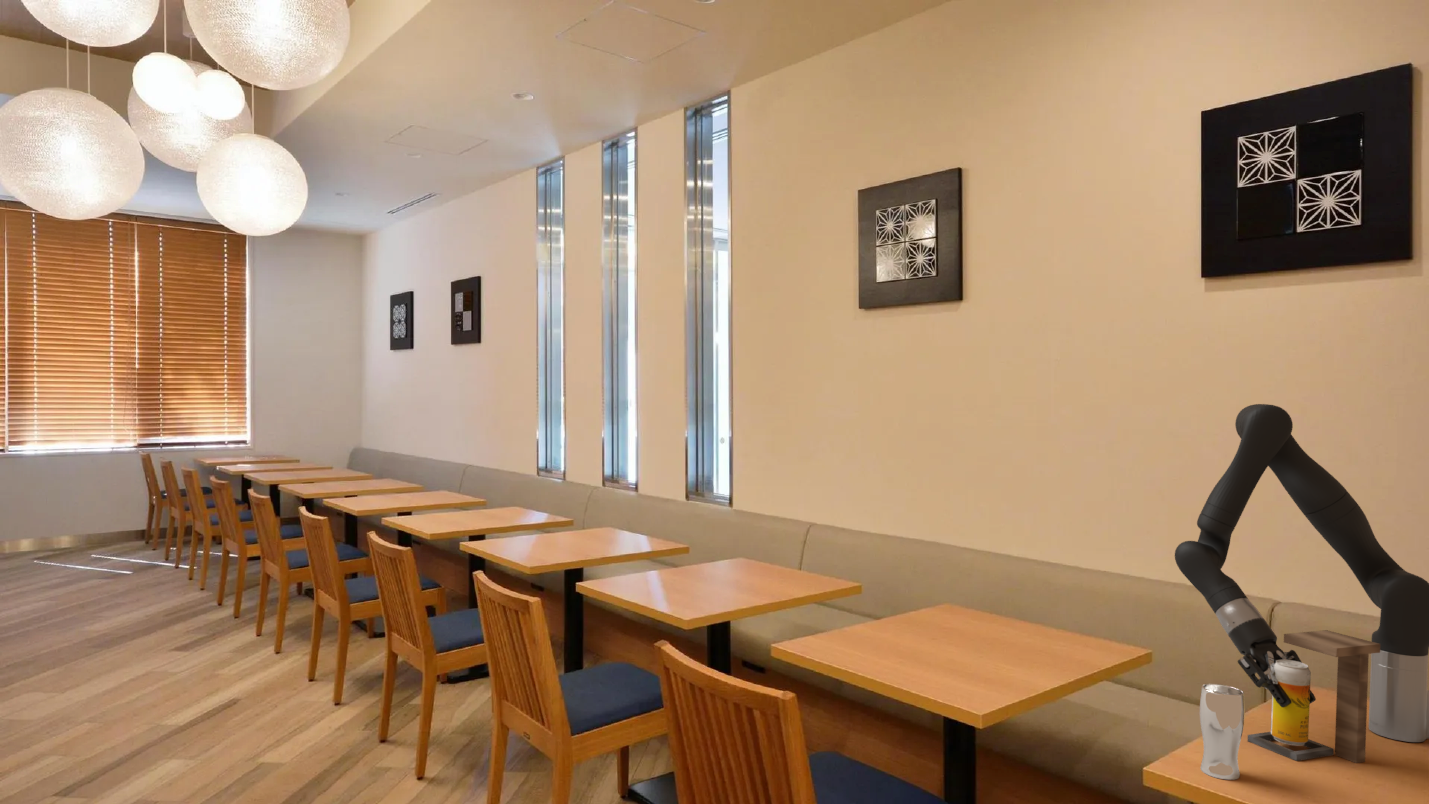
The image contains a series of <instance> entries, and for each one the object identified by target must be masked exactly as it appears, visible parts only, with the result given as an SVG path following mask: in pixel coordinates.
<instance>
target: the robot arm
mask: <svg viewBox="0 0 1429 804" xmlns="http://www.w3.org/2000/svg"><path fill="white" fill-rule="evenodd" d="M1234 425H1235V430H1236V433H1237V435H1238V436H1239V438H1240V442H1239V445H1238V447H1237V451H1236V453H1235V454H1234V457H1233V459H1232V461H1231V463H1230V464H1229V466H1228V468H1227V469H1226V471H1225V472H1224V473H1223V475H1222V476H1221V477H1220V479H1219V480H1218V481H1217V483H1216V484H1215V486H1214V487H1213V489H1211V492H1210V493H1209V495H1208V497H1207V499H1206V501H1205V503H1204V506H1203V507H1202V509H1201V511H1200V514H1199V515H1198V518H1197V521H1196V525H1197V527H1198V529H1200V532H1199V536H1198V539H1197V541H1196V540H1186V541H1183V542H1181V543H1179V544H1178V545H1177V547H1176V548H1175V551H1174V560H1175V563H1176V565H1177V567H1178V569H1179V570H1180V571H1181V573H1182V574H1183V576H1184V577H1185V578H1186V579H1187V580H1188V581H1189V583H1190V584H1191V585H1192V586H1193V587H1194V588H1195V589H1196V590H1198V592H1200V594H1201V595H1202V596H1203V597H1204V599H1205V601H1206V603H1207V604H1208V605H1209V607H1210V608H1211V609H1212V611H1213V612H1214V614H1215V616H1216V618H1217V619H1218V622H1219V623H1220V625H1221V627H1222V629H1223V630H1224V632H1225V633H1226V634H1227V635H1228V637H1229V638H1230V641H1232V643H1233V645H1234V646H1235V648H1236V649H1237V651H1238V653H1240V654H1241V655H1242V657H1241V658H1239V659H1238V660H1237V664H1239V666H1240V667H1241V669H1242V670H1243V671H1244V673H1246V675H1247V676H1248V678H1250V680H1251V681H1252V682H1253V684H1254V685H1255V686H1256V687H1257V688H1264V689H1266V690H1267V691H1269V692H1270V694H1271V696H1272V695H1273V697H1274V698H1275V700H1276V701H1277V703H1278V704H1279V705H1280V706H1281V707H1287V706H1288V705H1290V704H1291V700H1290V698H1289V697H1288V695H1287V694H1286V692H1285V691H1284V690H1283V688H1282V687H1281V686H1280V684H1279V685H1277V684H1278V681H1277V678H1276V676H1275V670H1274V665H1275V663H1276V660H1292V661H1297V662H1301V663H1303V662H1302V660H1301V659H1300V657H1299V655H1298V654H1297V651H1295V650H1294V649H1290V650H1289V651H1284V650H1283V649H1281V648H1280V647H1279V646H1278V644H1277V640H1278V636H1277V635H1276V634H1275V632H1274V630H1272V627H1270V625H1269V624H1268V622H1267V621H1266V620H1265V617H1264V616H1263V615H1262V614H1261V613H1260V612H1259V610H1258V609H1257V607H1256V606H1255V605H1254V604H1253V602H1251V601H1250V599H1249V598H1248V597H1247V595H1246V594H1245V592H1244V591H1243V590H1242V588H1241V587H1240V586H1239V584H1238V583H1237V582H1236V581H1235V579H1233V578H1232V577H1230V576H1228V575H1227V574H1225V573H1224V572H1223V571H1222V569H1223V566H1224V565H1225V563H1226V561H1227V556H1228V552H1229V549H1230V545H1231V538H1232V534H1233V532H1234V530H1235V528H1237V527H1236V526H1237V525H1238V522H1239V520H1240V518H1241V517H1242V514H1243V513H1244V510H1245V508H1246V507H1247V504H1248V502H1249V500H1250V499H1251V497H1252V494H1253V492H1254V491H1255V489H1256V486H1257V484H1258V483H1259V481H1260V479H1261V478H1262V476H1263V474H1264V473H1265V471H1266V469H1268V467H1269V469H1270V470H1271V471H1272V472H1273V474H1274V475H1275V476H1276V478H1277V479H1278V481H1279V482H1280V484H1281V485H1282V487H1283V488H1284V490H1285V491H1286V493H1287V494H1288V495H1289V497H1290V498H1291V499H1292V501H1293V502H1294V504H1295V505H1296V506H1297V507H1298V509H1299V511H1300V512H1301V513H1302V514H1303V516H1305V518H1306V519H1307V520H1308V522H1309V523H1310V524H1311V525H1312V527H1313V528H1314V529H1315V530H1316V531H1317V532H1318V533H1319V535H1321V538H1323V539H1324V541H1326V542H1327V543H1328V545H1330V547H1331V548H1332V549H1333V550H1334V551H1335V552H1336V553H1337V554H1338V555H1339V556H1340V557H1341V558H1342V560H1344V562H1345V563H1346V564H1347V566H1348V567H1349V569H1350V570H1351V571H1352V573H1353V574H1354V576H1355V577H1356V579H1357V581H1358V582H1359V584H1360V585H1361V587H1362V588H1363V590H1364V592H1365V593H1366V595H1367V596H1368V598H1369V599H1370V601H1371V602H1372V603H1373V604H1374V605H1375V606H1376V607H1378V609H1380V616H1379V625H1378V629H1376V630H1374V631H1373V632H1372V634H1371V642H1375V643H1379V644H1380V653H1371V654H1370V677H1369V679H1370V681H1369V682H1370V683H1369V684H1370V685H1369V707H1368V708H1369V709H1368V710H1369V711H1368V729H1369V731H1371V732H1372V733H1373V734H1376V735H1378V736H1381V737H1385V738H1388V739H1392V740H1395V741H1403V742H1409V743H1421V742H1422V743H1423V742H1425V741H1426V740H1427V739H1429V689H1428V681H1429V680H1428V679H1429V678H1428V677H1429V676H1428V675H1429V671H1428V670H1429V669H1428V668H1429V582H1428V581H1427V580H1426V579H1424V577H1421V576H1418V575H1416V574H1414V573H1410V572H1408V571H1407V570H1405V569H1404V568H1403V567H1402V566H1400V565H1399V564H1398V563H1397V562H1396V561H1395V560H1394V559H1393V557H1391V556H1390V554H1389V553H1388V552H1387V551H1386V550H1385V549H1384V548H1383V546H1381V544H1380V543H1379V541H1378V540H1377V538H1376V536H1375V534H1374V532H1373V530H1372V527H1371V525H1370V522H1369V519H1368V518H1367V516H1366V514H1365V513H1364V511H1363V509H1362V508H1361V506H1360V504H1358V502H1357V501H1356V500H1355V499H1354V497H1353V496H1352V495H1351V494H1350V492H1349V491H1348V490H1347V489H1346V488H1345V486H1344V485H1342V483H1341V482H1340V481H1339V480H1337V478H1335V477H1334V476H1333V474H1331V473H1329V471H1327V469H1325V468H1324V467H1323V466H1322V465H1320V463H1318V462H1317V461H1315V460H1314V459H1313V458H1312V457H1311V456H1310V455H1309V454H1308V453H1307V452H1306V451H1304V449H1303V448H1302V447H1301V446H1300V444H1299V443H1298V441H1297V440H1296V439H1295V437H1294V436H1293V435H1292V432H1293V420H1292V417H1291V415H1290V414H1289V413H1288V411H1287V410H1285V409H1284V408H1282V407H1280V406H1278V405H1274V404H1269V403H1268V404H1266V403H1256V404H1250V405H1247V406H1246V407H1244V408H1242V409H1241V410H1240V411H1239V412H1238V414H1237V416H1236V418H1235V424H1234ZM1256 674H1257V675H1256ZM1257 676H1258V677H1259V678H1258V677H1257ZM1316 700H1317V699H1316V696H1315V694H1314V693H1313V691H1312V690H1311V689H1310V704H1312V703H1314V702H1315V701H1316Z"/></svg>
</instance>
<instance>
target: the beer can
mask: <svg viewBox="0 0 1429 804" xmlns="http://www.w3.org/2000/svg"><path fill="white" fill-rule="evenodd" d="M1301 662H1302V661H1301ZM1301 662H1297V661H1292V660H1276V663H1275V665H1274V670H1275V676H1276V678H1277V681H1278V684H1277V685H1279V684H1280V686H1281V687H1282V688H1283V690H1284V691H1285V692H1286V694H1287V695H1288V697H1289V698H1290V700H1291V704H1290V705H1288V706H1287V707H1281V706H1280V705H1279V704H1278V703H1277V701H1276V700H1275V698H1274V697H1273V695H1272V694H1271V718H1270V719H1271V720H1270V732H1271V734H1272V735H1273V737H1274V739H1275V740H1274V741H1276V742H1279V743H1280V744H1285V745H1289V746H1293V747H1294V746H1295V747H1301V746H1303V745H1304V744H1305V743H1306V742H1307V741H1308V739H1309V729H1310V728H1309V727H1310V726H1309V724H1310V690H1311V680H1312V679H1311V678H1312V677H1311V676H1312V675H1311V673H1312V672H1311V670H1310V668H1309V667H1310V666H1309V665H1308V664H1307V663H1303V662H1302V663H1301Z"/></svg>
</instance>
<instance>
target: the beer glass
mask: <svg viewBox="0 0 1429 804" xmlns="http://www.w3.org/2000/svg"><path fill="white" fill-rule="evenodd" d="M1199 701H1200V702H1199V722H1200V723H1199V724H1200V728H1201V729H1200V730H1201V736H1202V741H1203V743H1202V744H1203V755H1202V760H1201V764H1200V771H1201V772H1202V773H1204V774H1205V775H1207V776H1209V777H1212V778H1215V779H1220V780H1227V781H1233V780H1238V779H1239V778H1240V775H1241V774H1240V768H1239V761H1238V759H1239V758H1238V757H1239V749H1240V745H1241V740H1242V736H1243V732H1244V726H1245V715H1246V714H1245V713H1246V711H1245V710H1246V709H1245V692H1244V691H1243V690H1242V689H1239V688H1238V687H1235V686H1231V685H1227V684H1221V683H1205V684H1204V683H1203V684H1202V685H1201V694H1200V700H1199Z"/></svg>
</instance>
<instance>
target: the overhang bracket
mask: <svg viewBox="0 0 1429 804" xmlns="http://www.w3.org/2000/svg"><path fill="white" fill-rule="evenodd" d="M1283 643H1284V644H1288V645H1291V646H1295V647H1298V648H1303V649H1306V650H1310V651H1313V652H1316V653H1320V654H1324V655H1328V656H1331V657H1335V658H1337V671H1336V672H1337V675H1336V680H1337V681H1336V704H1335V706H1336V707H1335V709H1336V710H1335V734H1334V748H1333V747H1331V746H1328V745H1325V744H1323V743H1320V742H1317V741H1315V740H1312V739H1309V738H1308V741H1307V742H1306V743H1305V744H1304V745H1302V746H1303V747H1306V748H1307V749H1302V750H1292V749H1290V748H1287V747H1285V746H1283V745H1280V744H1277V743H1275V742H1273V741H1276V740H1275V739H1274V737H1273V735H1272V734H1271V731H1267V732H1265V731H1264V732H1258V733H1251V734H1247V742H1249V743H1252V744H1254V745H1256V746H1259V747H1261V748H1264V749H1266V750H1268V751H1271V752H1273V753H1276V754H1278V755H1280V756H1283V757H1285V758H1288V759H1291V760H1293V761H1296V762H1299V761H1303V760H1304V761H1306V760H1311V759H1317V758H1318V759H1319V758H1323V757H1324V758H1325V757H1329V756H1334V755H1335V756H1337V757H1339V758H1341V759H1345V760H1347V761H1350V762H1353V763H1354V764H1359V763H1364V762H1366V744H1367V743H1366V742H1367V741H1366V740H1367V714H1368V712H1367V711H1368V685H1369V683H1368V682H1369V659H1370V658H1369V655H1371V653H1380V644H1379V643H1375V642H1372V640H1367V639H1363V638H1359V637H1355V636H1350V635H1348V634H1343V633H1339V632H1334V631H1331V630H1327V629H1326V630H1313V631H1302V632H1301V631H1300V632H1291V633H1284V634H1283ZM1308 748H1309V749H1308Z"/></svg>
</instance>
